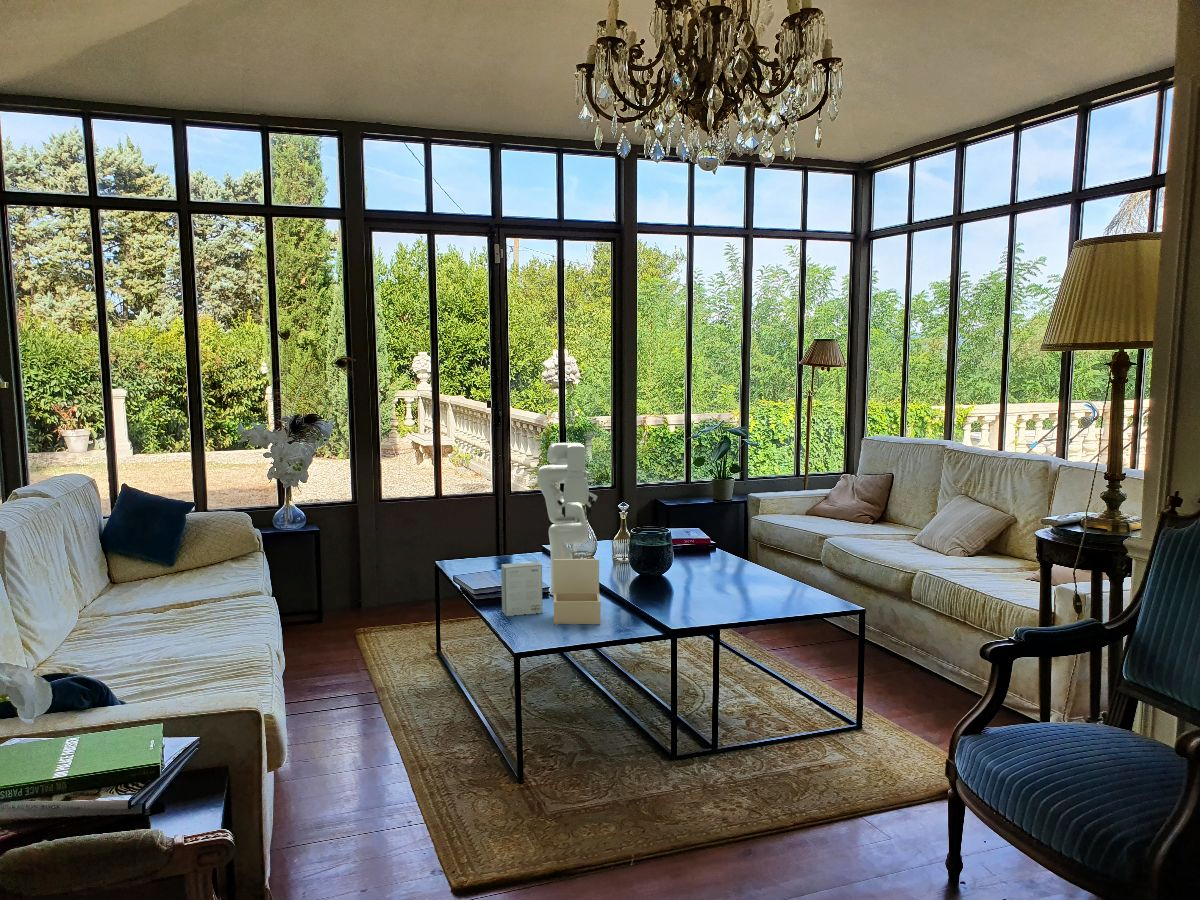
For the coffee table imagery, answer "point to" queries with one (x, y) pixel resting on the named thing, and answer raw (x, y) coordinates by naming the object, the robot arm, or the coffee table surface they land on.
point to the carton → (577, 608)
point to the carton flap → (576, 575)
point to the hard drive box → (521, 588)
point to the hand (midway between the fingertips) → (576, 516)
